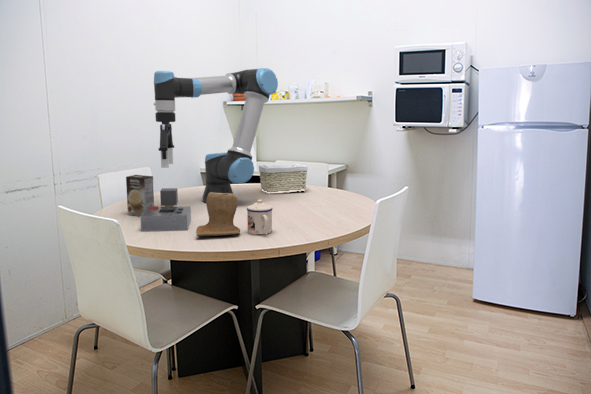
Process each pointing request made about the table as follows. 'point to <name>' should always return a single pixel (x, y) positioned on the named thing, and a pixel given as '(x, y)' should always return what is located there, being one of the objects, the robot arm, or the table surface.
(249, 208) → the teacup with lid
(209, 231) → the brown wooden upright piece
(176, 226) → the socket plate
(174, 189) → the plug
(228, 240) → the table surface
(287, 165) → the storage basket
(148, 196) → the coffee box
